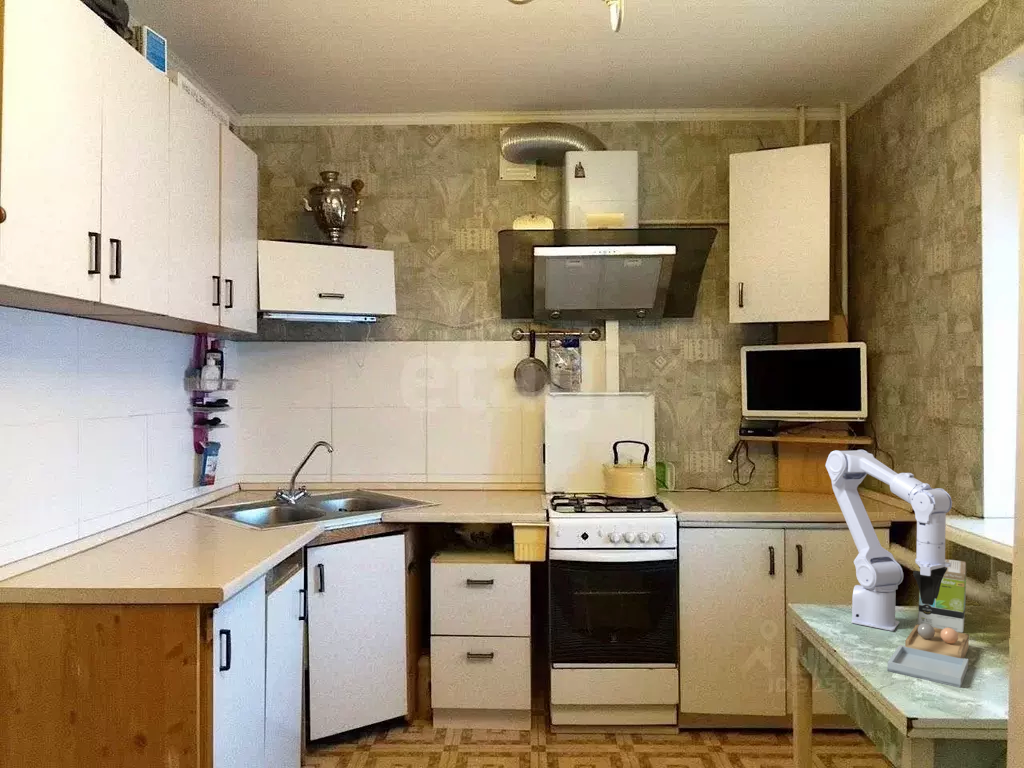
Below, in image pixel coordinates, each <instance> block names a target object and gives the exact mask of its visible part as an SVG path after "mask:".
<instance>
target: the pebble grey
mask: <svg viewBox="0 0 1024 768" xmlns="http://www.w3.org/2000/svg"><path fill="white" fill-rule="evenodd" d="M918 634H919V635H920V636H921V637H922V638H924V639H931V638H932V637H933V636H934V635H935V630H934V628H933V627H932V626H931V625H930V624H927V623H922V624H920V625H919V626H918Z"/></svg>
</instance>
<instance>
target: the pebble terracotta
mask: <svg viewBox="0 0 1024 768" xmlns="http://www.w3.org/2000/svg"><path fill="white" fill-rule="evenodd" d="M940 635H941V638H942V640H943V641H944V642H946V643H949V644H953V643H955V642H956V641H957V640H958V634H957V632H956V631H955V630H954V629H952V628H944V629H942V631H941V633H940Z"/></svg>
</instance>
